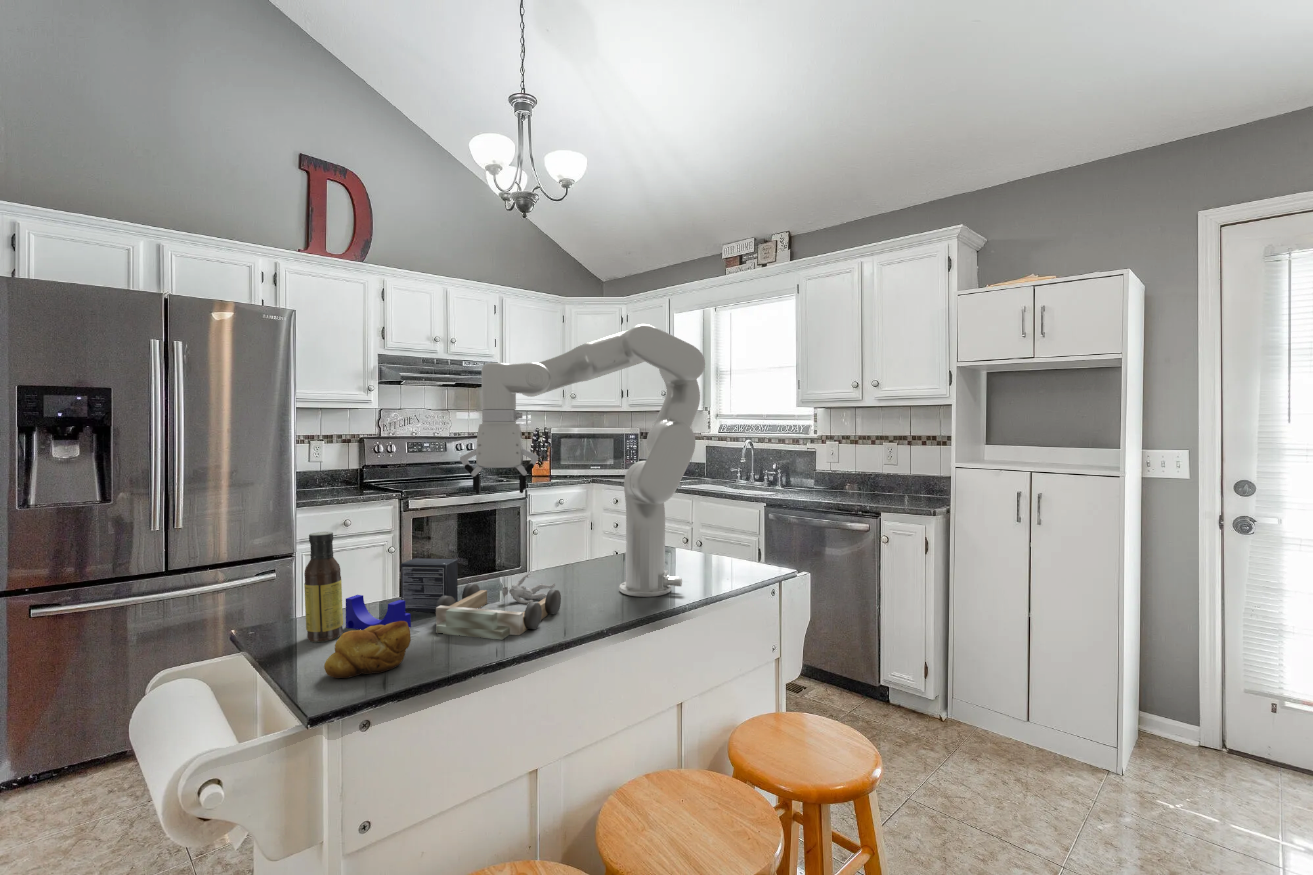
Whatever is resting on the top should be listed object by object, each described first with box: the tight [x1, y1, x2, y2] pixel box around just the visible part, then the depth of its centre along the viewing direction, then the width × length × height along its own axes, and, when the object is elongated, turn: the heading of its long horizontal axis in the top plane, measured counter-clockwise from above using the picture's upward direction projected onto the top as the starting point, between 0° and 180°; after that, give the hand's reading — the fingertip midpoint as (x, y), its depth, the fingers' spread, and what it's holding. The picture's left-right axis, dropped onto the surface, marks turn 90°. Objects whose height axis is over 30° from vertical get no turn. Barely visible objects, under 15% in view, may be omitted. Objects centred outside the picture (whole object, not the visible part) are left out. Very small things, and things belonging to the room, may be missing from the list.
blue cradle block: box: [345, 594, 412, 630], centre depth 125 cm, size 12×4×6 cm, turn 70°
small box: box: [400, 557, 459, 613], centre depth 138 cm, size 11×6×10 cm, turn 84°
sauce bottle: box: [303, 531, 344, 643], centre depth 119 cm, size 6×6×20 cm
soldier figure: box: [502, 573, 556, 605], centre depth 145 cm, size 8×5×12 cm
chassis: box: [434, 583, 562, 640], centre depth 130 cm, size 21×20×5 cm
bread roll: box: [323, 621, 412, 679], centre depth 104 cm, size 13×10×8 cm
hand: (500, 492), depth 143 cm, fingers open, 9 cm apart
